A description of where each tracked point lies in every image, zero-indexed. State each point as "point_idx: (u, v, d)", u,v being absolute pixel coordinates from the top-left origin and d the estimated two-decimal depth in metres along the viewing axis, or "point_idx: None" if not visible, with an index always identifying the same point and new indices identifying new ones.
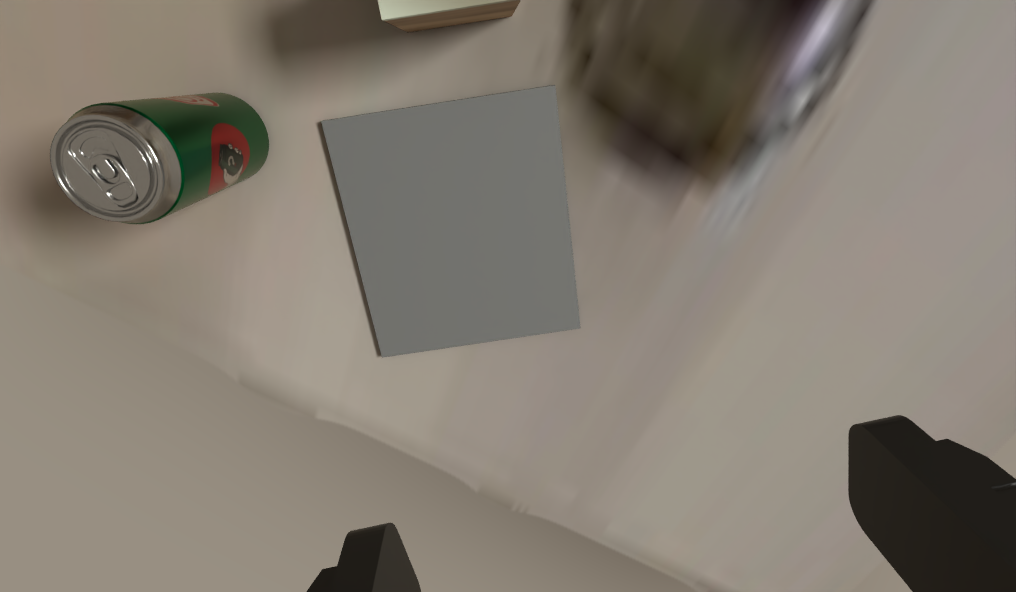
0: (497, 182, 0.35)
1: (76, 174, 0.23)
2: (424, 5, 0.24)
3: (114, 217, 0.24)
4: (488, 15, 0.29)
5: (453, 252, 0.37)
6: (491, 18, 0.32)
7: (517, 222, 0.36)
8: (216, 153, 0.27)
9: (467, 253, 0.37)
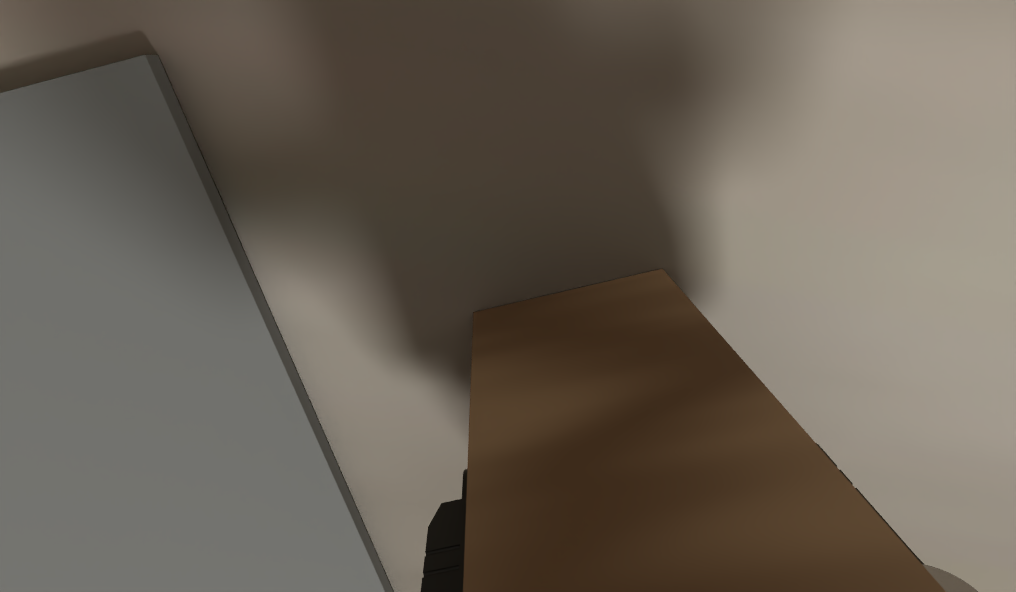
0: (136, 549, 0.13)
1: None
2: None
3: None
4: None
5: None
6: None
7: None
8: None
9: None
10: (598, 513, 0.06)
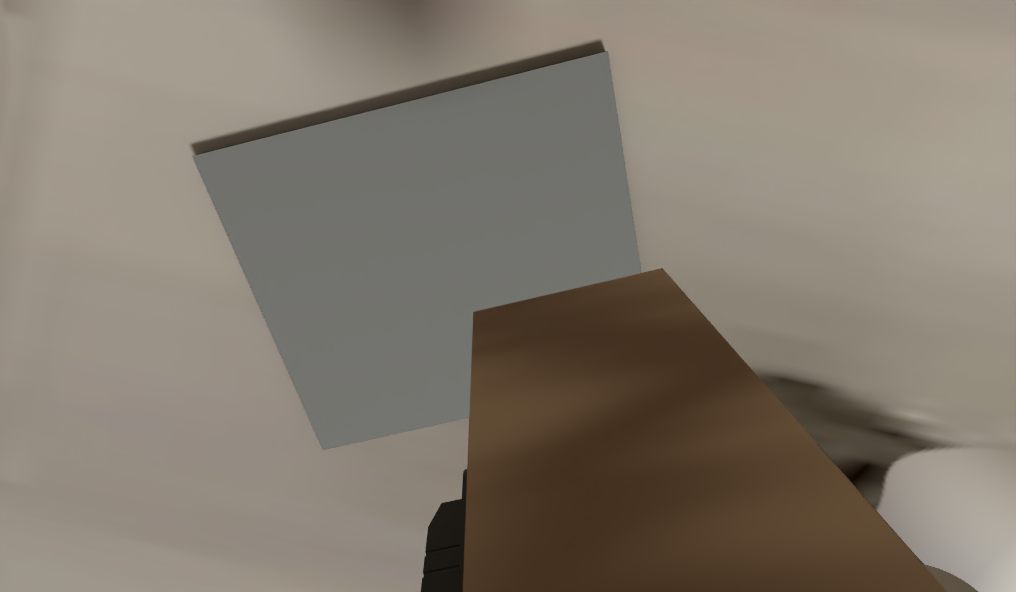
0: None
1: None
2: None
3: None
4: None
5: (413, 267, 0.23)
6: None
7: (471, 352, 0.25)
8: None
9: (414, 287, 0.24)
10: (597, 513, 0.06)
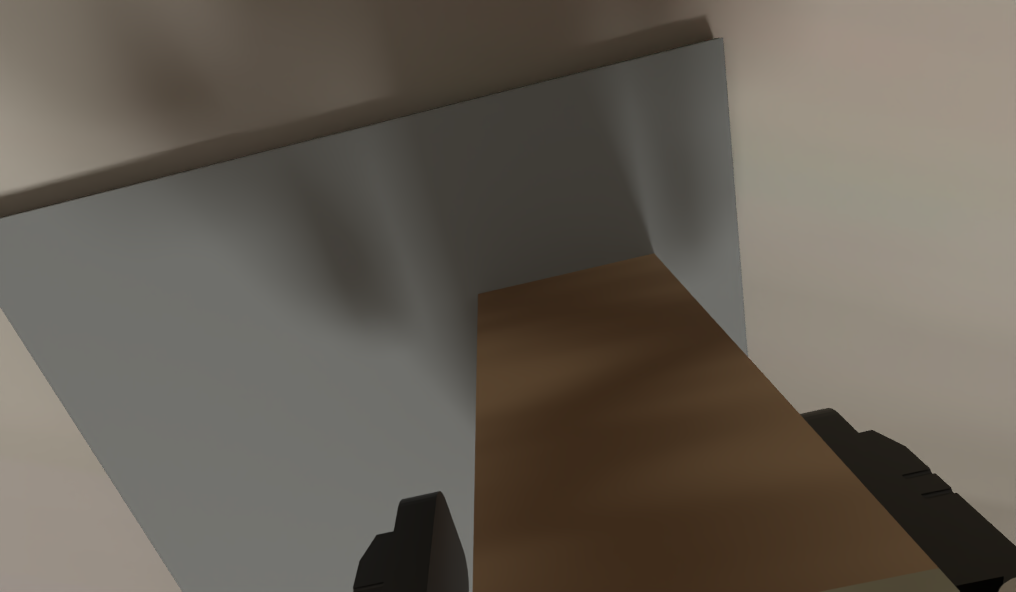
0: None
1: None
2: None
3: None
4: None
5: (367, 410, 0.14)
6: None
7: (466, 533, 0.15)
8: None
9: (369, 441, 0.14)
10: (591, 455, 0.07)
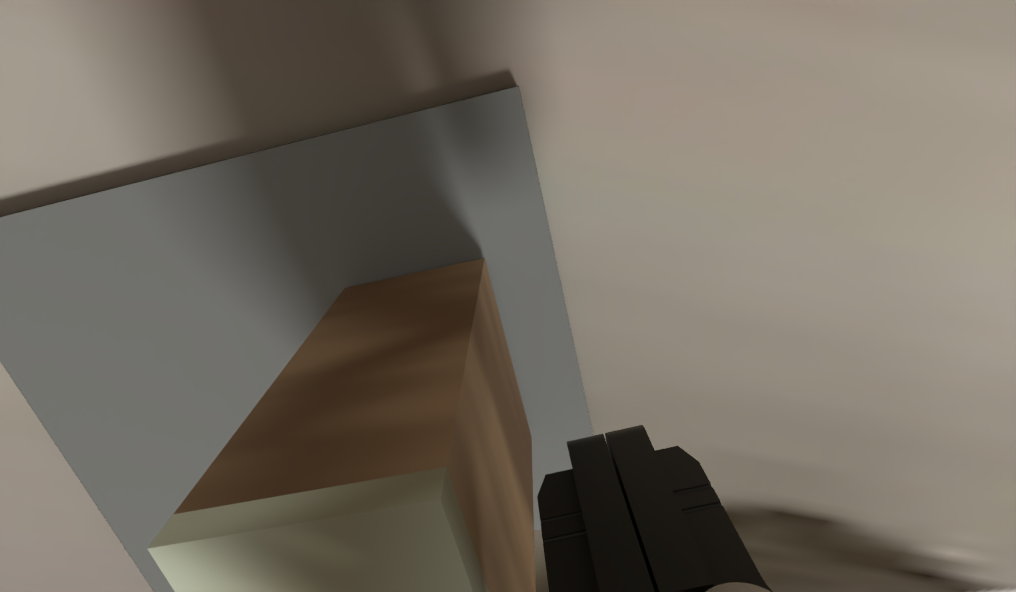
0: None
1: None
2: None
3: None
4: None
5: (262, 383, 0.17)
6: None
7: None
8: None
9: None
10: (323, 403, 0.10)
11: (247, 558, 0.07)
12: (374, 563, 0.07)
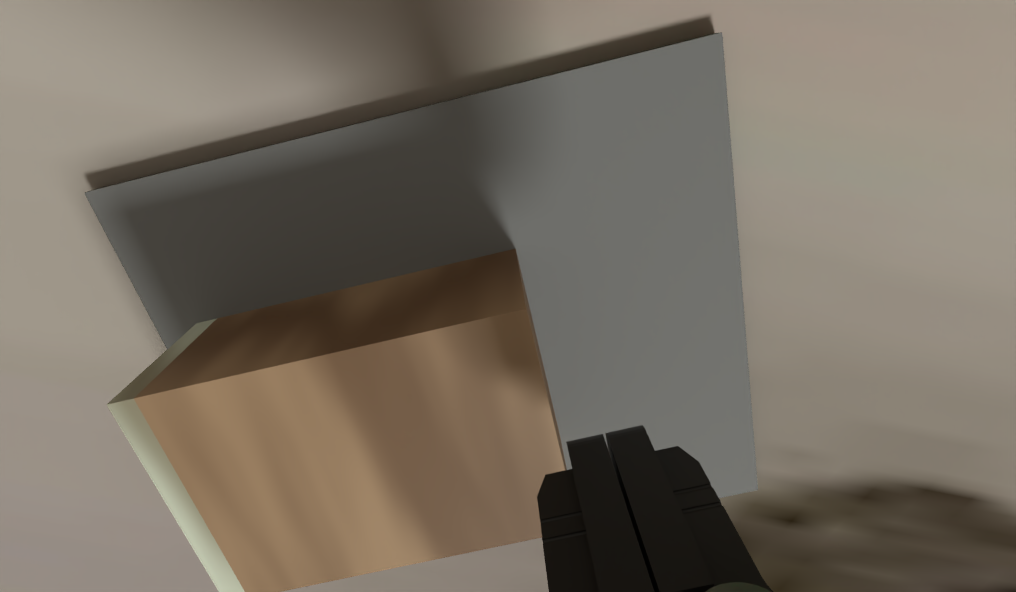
0: (581, 419, 0.17)
1: None
2: None
3: None
4: None
5: None
6: None
7: None
8: None
9: None
10: (278, 322, 0.14)
11: None
12: None
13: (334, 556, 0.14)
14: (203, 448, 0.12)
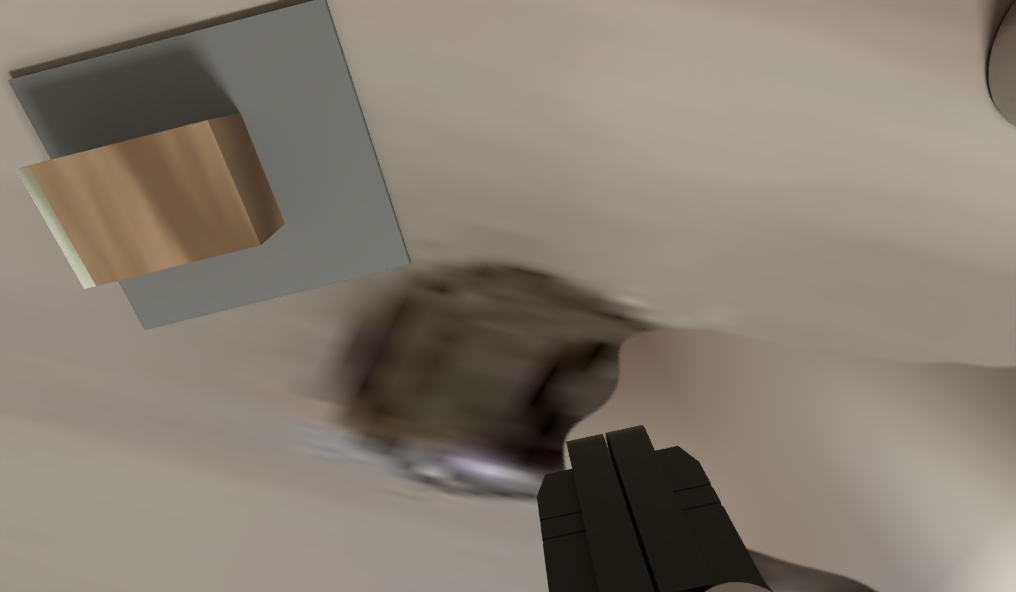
0: (297, 216, 0.31)
1: None
2: None
3: None
4: None
5: None
6: None
7: None
8: None
9: None
10: None
11: None
12: None
13: (137, 260, 0.27)
14: (64, 194, 0.26)
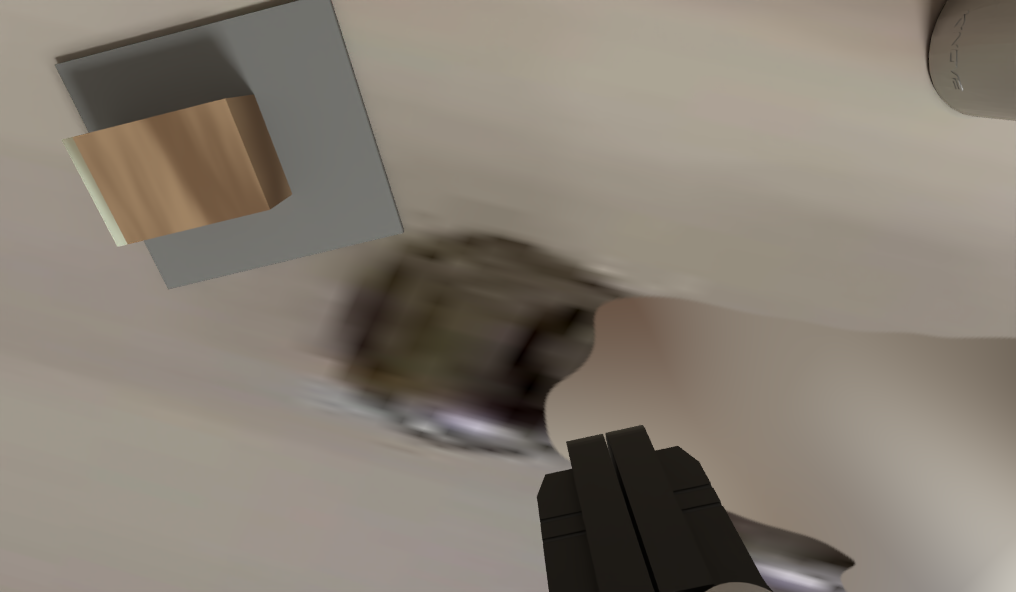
0: (302, 188, 0.35)
1: None
2: None
3: None
4: None
5: None
6: None
7: (266, 212, 0.35)
8: None
9: None
10: None
11: None
12: None
13: (163, 221, 0.31)
14: (102, 162, 0.30)
